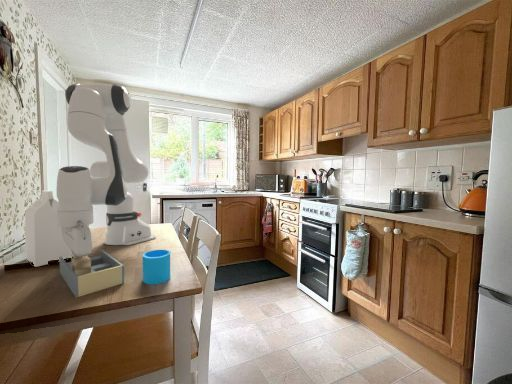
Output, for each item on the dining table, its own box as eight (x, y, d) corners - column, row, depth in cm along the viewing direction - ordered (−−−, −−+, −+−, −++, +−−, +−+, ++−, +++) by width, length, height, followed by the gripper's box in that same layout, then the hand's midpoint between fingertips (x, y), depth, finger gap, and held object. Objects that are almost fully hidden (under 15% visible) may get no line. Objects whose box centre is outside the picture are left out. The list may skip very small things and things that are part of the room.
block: (87, 268, 75) (87, 255, 75) (91, 271, 73) (90, 259, 72) (71, 271, 72) (71, 259, 72) (74, 275, 70) (74, 262, 69)
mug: (172, 281, 75) (172, 255, 74) (143, 286, 71) (143, 259, 70) (166, 267, 85) (166, 245, 84) (141, 271, 81) (140, 248, 80)
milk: (74, 257, 92) (72, 190, 90) (35, 266, 83) (31, 192, 81) (62, 251, 99) (60, 189, 97) (25, 259, 89) (21, 190, 87)
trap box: (101, 263, 87) (101, 248, 87) (124, 282, 72) (123, 265, 72) (59, 273, 78) (59, 256, 78) (75, 297, 64) (75, 277, 63)
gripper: (97, 222, 69) (99, 268, 70) (80, 213, 83) (81, 252, 84) (70, 225, 64) (72, 275, 65) (57, 215, 78) (58, 256, 79)
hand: (77, 262), depth 75 cm, fingers closed
